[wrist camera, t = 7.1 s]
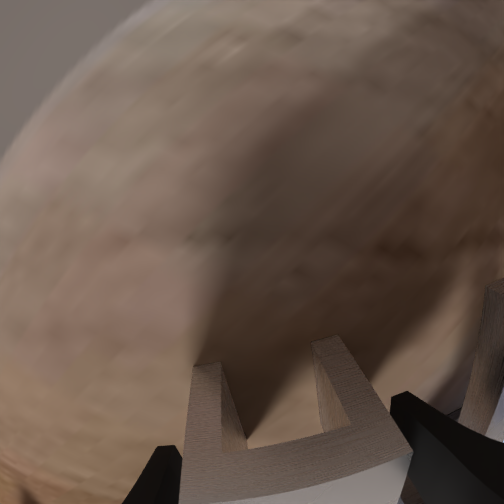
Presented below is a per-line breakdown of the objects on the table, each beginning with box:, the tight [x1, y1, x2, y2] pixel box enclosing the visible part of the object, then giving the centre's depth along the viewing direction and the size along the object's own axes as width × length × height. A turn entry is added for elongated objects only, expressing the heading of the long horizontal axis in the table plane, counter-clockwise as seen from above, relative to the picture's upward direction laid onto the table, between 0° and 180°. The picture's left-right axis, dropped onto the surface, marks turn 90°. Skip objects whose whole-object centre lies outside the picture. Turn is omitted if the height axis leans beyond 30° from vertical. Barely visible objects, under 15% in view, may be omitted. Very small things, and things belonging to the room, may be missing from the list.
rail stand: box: [397, 278, 504, 504], centre depth 9 cm, size 6×16×6 cm, turn 11°
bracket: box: [179, 335, 413, 504], centre depth 8 cm, size 5×4×6 cm
